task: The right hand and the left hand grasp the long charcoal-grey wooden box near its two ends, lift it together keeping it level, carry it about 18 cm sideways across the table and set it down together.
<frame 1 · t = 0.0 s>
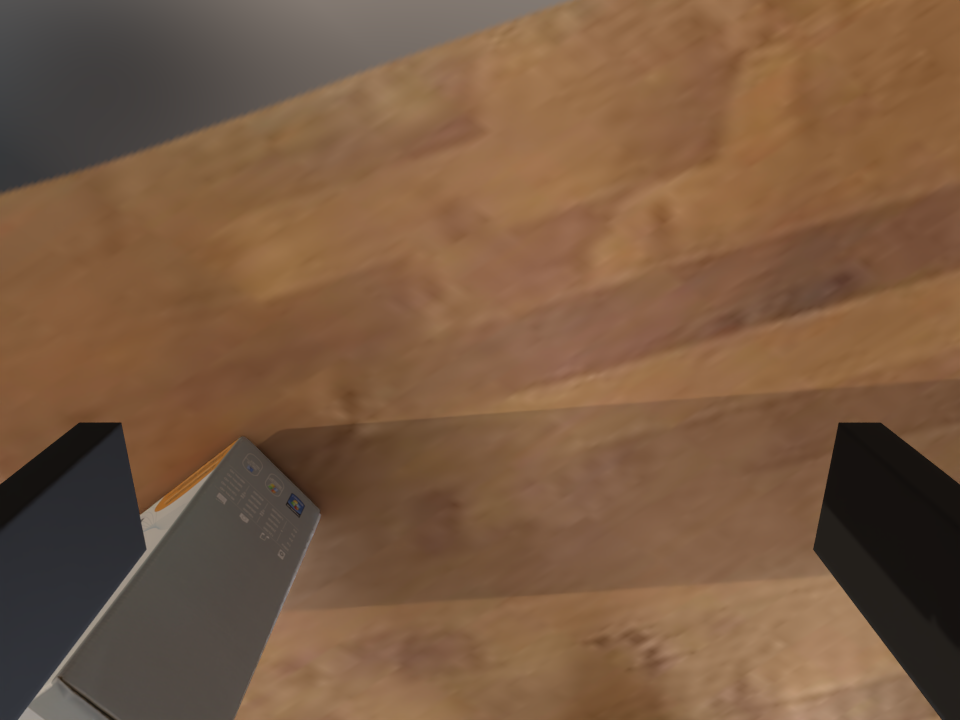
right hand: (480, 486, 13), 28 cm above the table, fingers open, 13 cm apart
hard drive box: (203, 532, 46), on the table
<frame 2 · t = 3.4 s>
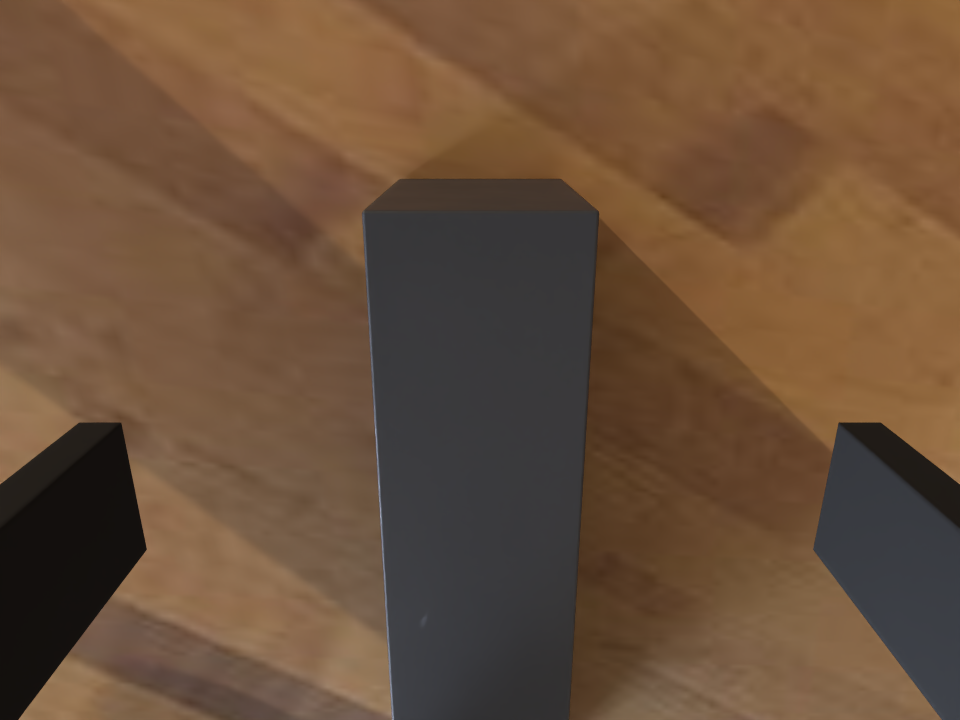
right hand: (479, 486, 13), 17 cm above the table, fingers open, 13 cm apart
charcoal box: (480, 523, 33), on the table, touching left hand
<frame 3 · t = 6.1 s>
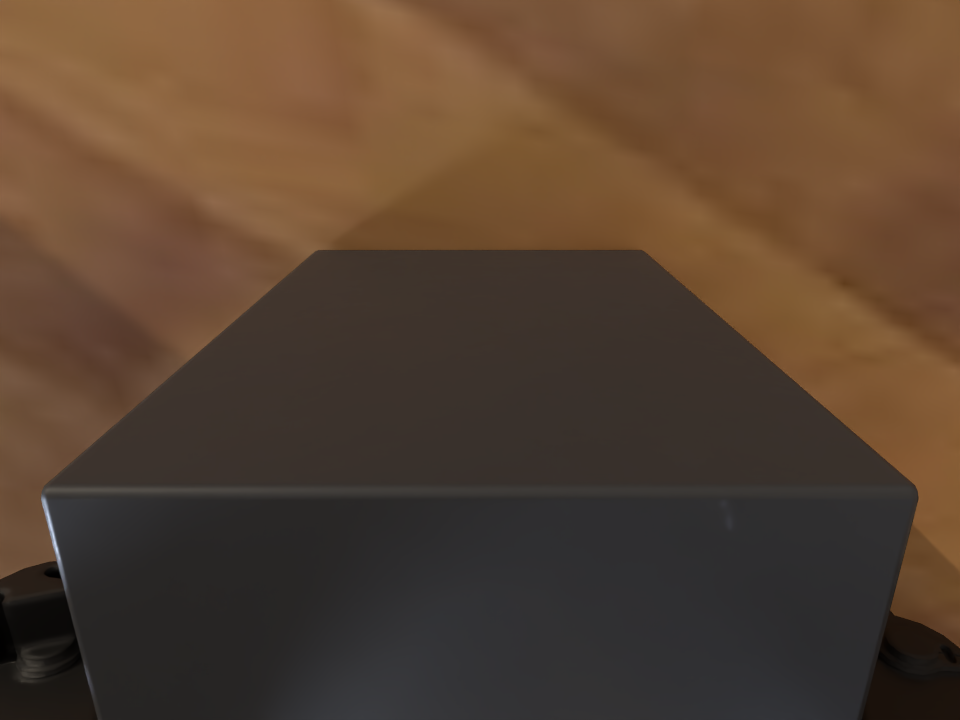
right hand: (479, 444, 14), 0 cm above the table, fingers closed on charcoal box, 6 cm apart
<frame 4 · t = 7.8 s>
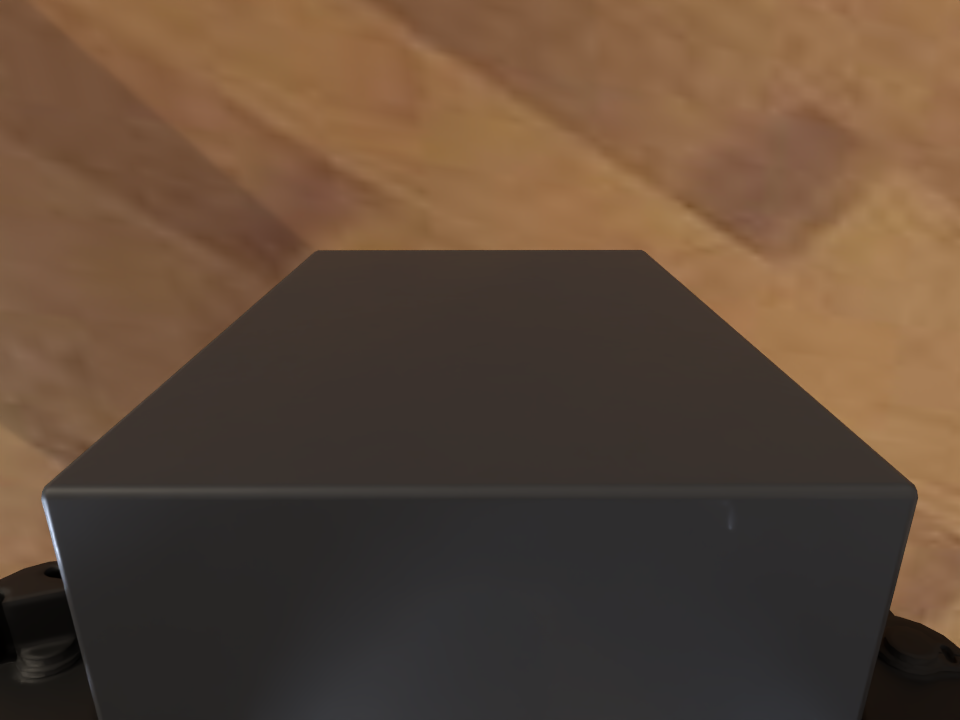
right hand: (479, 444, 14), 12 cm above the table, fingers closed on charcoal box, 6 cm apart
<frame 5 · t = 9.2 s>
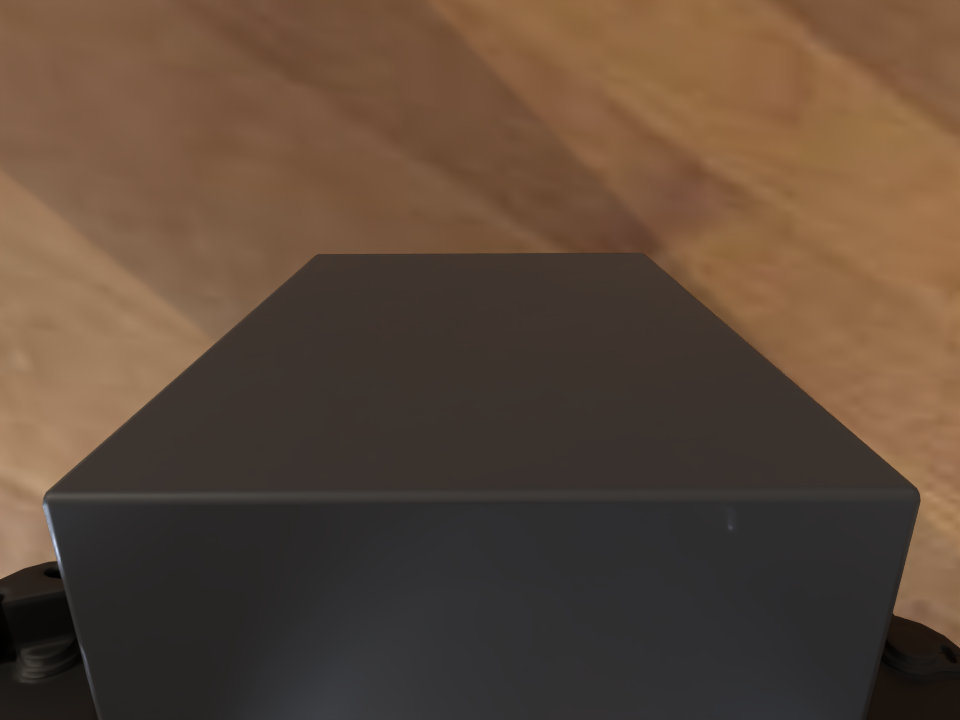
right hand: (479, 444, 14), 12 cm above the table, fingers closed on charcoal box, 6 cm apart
when the left hand's fingers open (1 cm above the table, at t = 12.3 s): charcoal box stays where it is, on the table.
when the right hand's fingers open (1 cm above the table, at t = 12.3 s): charcoal box stays where it is, on the table.
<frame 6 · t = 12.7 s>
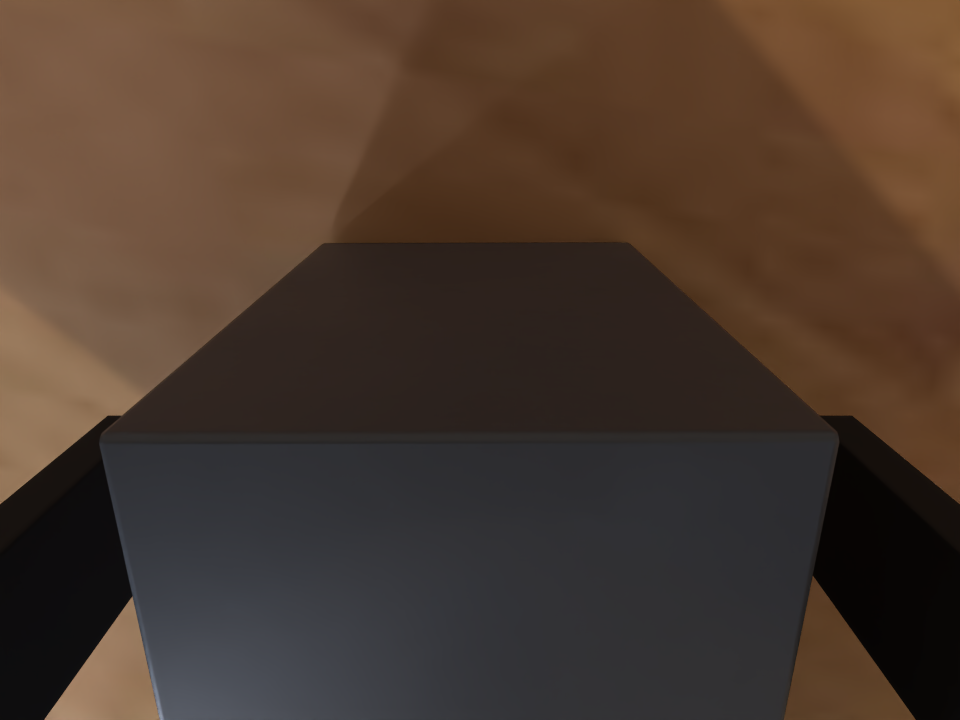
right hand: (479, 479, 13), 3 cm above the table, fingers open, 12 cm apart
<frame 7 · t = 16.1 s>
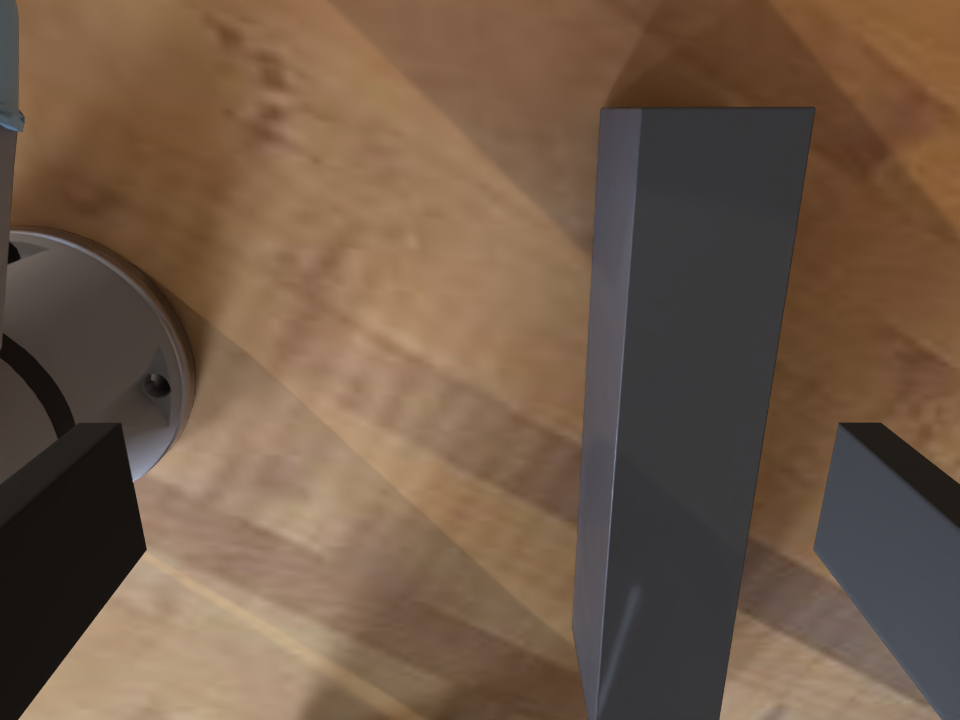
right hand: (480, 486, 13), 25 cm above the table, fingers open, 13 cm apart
charcoal box: (640, 404, 39), on the table
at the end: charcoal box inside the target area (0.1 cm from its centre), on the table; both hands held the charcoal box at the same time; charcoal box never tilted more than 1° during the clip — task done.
